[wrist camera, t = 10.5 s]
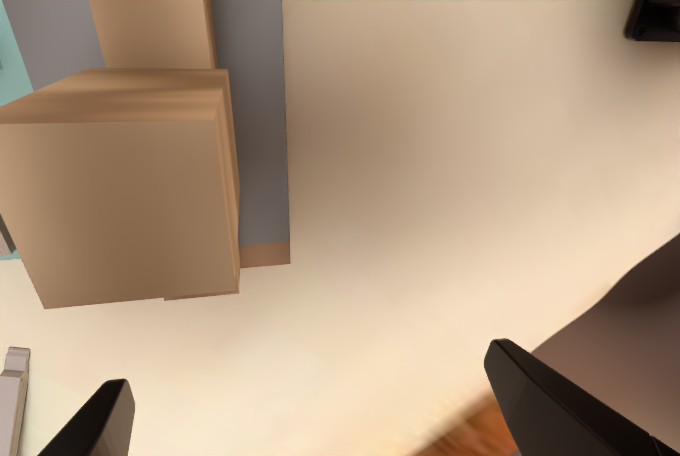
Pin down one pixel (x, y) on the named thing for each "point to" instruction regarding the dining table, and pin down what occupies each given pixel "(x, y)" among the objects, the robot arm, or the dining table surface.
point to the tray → (11, 75)
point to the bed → (245, 88)
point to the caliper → (13, 399)
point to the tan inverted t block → (128, 165)
